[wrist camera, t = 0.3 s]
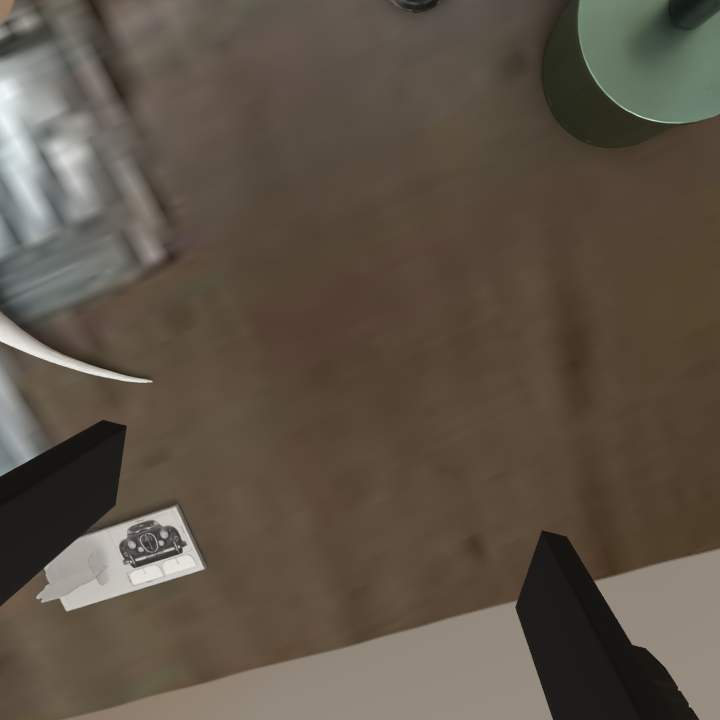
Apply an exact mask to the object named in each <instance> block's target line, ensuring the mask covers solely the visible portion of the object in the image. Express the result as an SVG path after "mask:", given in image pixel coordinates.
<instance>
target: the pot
mask: <svg viewBox="0 0 720 720" xmlns="http://www.w3.org/2000/svg"><path fill="white" fill-rule="evenodd" d="M576 3H577V0H571V1H570V2H569V4H568V5H567V7H566V8H565V10H564V11H563V13H562V14H561V16H560V17H559V19H558V21H557V23H556V25H555V28H554V30H553V32H552V34H551V36H550V38H549V41H548V44H547V47H546V50H545V55H544V59H543V69H542V77H543V87H544V93H545V96H546V100H547V103H548V105H549V107H550V109H551V111H552V113H553V115H554V116H555V118H556V119H557V121H558V122H559V123H560V124H561V125H562V127H563V128H565V129H566V130H567V131H568V132H569V133H570V134H572V135H573V136H575V137H576V138H578V139H580V140H582V141H584V142H586V143H589V144H592V145H595V146H600V147H610V148H617V147H626V146H632V145H637V144H639V143H641V142H643V141H645V140H648V139H650V138H652V137H654V136H656V135H658V134H661V133H663V132H665V131H667V130H669V129H671V128H673V127H675V126H678V125H659V124H652V123H647V122H644V121H641V120H638V119H635V118H633V117H631V116H629V115H627V114H625V113H623V112H621V111H620V110H618V109H617V108H615V107H614V106H612V105H611V104H610V103H609V102H608V101H607V100H606V99H605V98H604V97H603V96H602V95H601V94H600V93H599V92H598V90H597V89H596V88H595V87H594V85H593V84H592V82H591V80H590V79H589V77H588V75H587V73H586V71H585V69H584V66H583V64H582V62H581V58H580V55H579V51H578V47H577V41H576V34H575V13H576Z"/></svg>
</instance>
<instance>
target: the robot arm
mask: <svg viewBox="0 0 720 720" xmlns="http://www.w3.org/2000/svg"><path fill="white" fill-rule="evenodd" d="M126 427H127V426H125V425H121V424H117V423H113V422H109V421H105V420H102V421H100V422H98V423H97V424H95V425H93V426H91V427H89V428H87V429H86V430H84V431H82V432H80V433H78V434H77V435H75V436H73V437H71V438H69V439H68V440H66V441H64V442H62V443H60V444H59V445H57V446H55V447H53V448H51V449H49V450H48V451H46V452H44V453H42V454H40V455H39V456H37V457H35V458H33V459H31V460H30V461H28V462H26V463H24V464H22V465H21V466H19V467H17V468H15V469H13V470H11V471H10V472H8V473H6V474H4V475H2V476H1V477H0V606H1V605H2V604H4V603H5V602H6V601H7V600H8V599H9V598H10V597H12V596H13V595H14V594H15V593H16V592H17V591H18V590H20V589H21V588H22V587H23V586H24V585H25V584H26V583H27V582H29V581H30V580H31V579H32V578H33V577H34V576H35V575H37V574H38V573H39V572H40V571H41V570H42V569H43V568H45V567H46V566H47V565H48V564H49V563H50V562H51V561H53V560H54V559H55V558H56V557H57V556H58V555H59V554H60V553H62V552H63V551H64V550H65V549H66V548H67V547H68V546H70V545H71V544H72V543H73V542H74V541H75V540H76V539H78V538H79V537H80V536H81V535H82V534H83V533H84V532H85V531H87V530H88V529H89V528H90V527H91V526H92V525H93V524H95V523H96V522H97V521H98V520H99V519H100V518H101V517H103V516H104V515H105V514H106V513H107V512H108V511H109V510H111V509H112V508H113V507H114V506H115V505H116V497H117V490H118V483H119V476H120V469H121V462H122V455H123V448H124V441H125V434H126ZM516 611H517V614H518V617H519V619H520V622H521V626H522V628H523V631H524V634H525V637H526V640H527V643H528V646H529V649H530V652H531V655H532V658H533V661H534V664H535V667H536V670H537V673H538V676H539V679H540V682H541V685H542V688H543V691H544V694H545V697H546V700H547V703H548V706H549V709H550V712H551V715H552V717H553V720H699V719H698V717H697V716H696V714H695V713H694V711H693V710H692V708H690V707H689V703H688V702H687V700H686V699H685V697H684V696H683V694H682V693H681V691H678V687H677V685H676V683H675V682H674V680H673V679H672V677H671V676H670V674H669V673H668V671H667V670H666V668H665V667H664V666H663V665H662V664H661V663H660V662H659V661H658V660H657V659H656V658H655V657H654V656H653V655H652V654H651V653H650V652H649V651H648V650H647V649H646V648H642V647H638V646H634V645H632V644H631V642H630V640H629V639H628V637H627V635H626V634H625V632H624V631H623V629H622V627H621V625H620V624H619V622H618V620H617V619H616V617H615V616H614V614H613V612H612V611H611V609H610V607H609V606H608V604H607V602H606V601H605V599H604V597H603V596H602V594H601V592H600V591H599V589H598V588H597V586H596V584H595V582H594V581H593V579H592V577H591V576H590V574H589V573H588V571H587V569H586V568H585V566H584V564H583V563H582V561H581V559H580V558H579V556H578V554H577V553H576V551H575V549H574V548H573V546H572V544H571V543H570V541H569V539H568V538H567V537H566V536H562V535H558V534H554V533H550V532H546V531H542V532H541V535H540V538H539V541H538V544H537V546H536V549H535V552H534V555H533V558H532V561H531V564H530V567H529V570H528V573H527V575H526V578H525V581H524V584H523V587H522V590H521V593H520V596H519V599H518V601H517V604H516Z"/></svg>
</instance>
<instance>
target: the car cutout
mask: <svg viewBox="0 0 720 720" xmlns="http://www.w3.org/2000/svg"><path fill="white" fill-rule="evenodd" d="M206 567H207V566H206V564H205V562H204V560H203V557H202V555H201V553H200V551H199V549H198V547H197V544H196V542H195V540H194V538H193V536H192V534H191V531H190V529H189V527H188V525H187V523H186V521H185V518H184V516H183V514H182V512H181V510H180V508H179V505H178V504H177V505H174V506H171V507H168V508H165V509H162V510H159V511H156V512H153V513H150V514H147V515H144V516H141V517H137V518H134V519H131V520H128V521H125V522H122V523H119V524H116V525H113V526H110V527H107V528H104V529H101V530H98V531H95V532H92V533H89V534H86V535H82V536H80V537H79V538H78V539H76V540H75V541H74V542H73V543H72V544H71V545H70V546H68V547H67V548H66V549H65V550H64V551H63V552H62V553H60V554H59V555H58V556H57V557H56V558H55V559H54V560H53V561H51V562H50V563H49V564H48V565H47V566H46V567H45V568H44V569H45V571H46V578H47V580H48V582H49V584H48V585H46V587H44V588H45V589H44V590H43V591H41V592H40V593H39V594H38V595H37V597H36V599H41V598H42V601H41V603H44V602H48V601H51V600H55V599H58V598H60V600H61V602H62V604H63V606H64V608H65V610H66V612H67V611H70V610H74V609H77V608H80V607H83V606H87V605H90V604H93V603H96V602H100V601H103V600H106V599H110V598H113V597H116V596H119V595H123V594H126V593H129V592H132V591H136V590H139V589H142V588H146V587H149V586H152V585H155V584H159V583H162V582H165V581H168V580H172V579H175V578H178V577H182V576H185V575H188V574H191V573H195V572H198V571H201V570H204V569H205V568H206Z"/></svg>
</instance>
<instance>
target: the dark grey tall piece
mask: <svg viewBox="0 0 720 720" xmlns="http://www.w3.org/2000/svg"><path fill="white" fill-rule="evenodd" d="M390 1H391V2H392V3H393V4H395V5H396V6H397V7H398V8H400V9H402V10H405V11H407V12H414V13H417V12H424V11H427V10H429V9H431V8H433V7H435V6H436V5H437V4H439V3H440V2H441V1H442V0H390Z"/></svg>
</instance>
